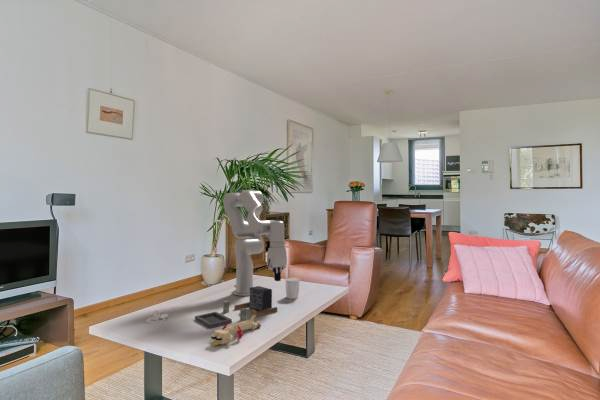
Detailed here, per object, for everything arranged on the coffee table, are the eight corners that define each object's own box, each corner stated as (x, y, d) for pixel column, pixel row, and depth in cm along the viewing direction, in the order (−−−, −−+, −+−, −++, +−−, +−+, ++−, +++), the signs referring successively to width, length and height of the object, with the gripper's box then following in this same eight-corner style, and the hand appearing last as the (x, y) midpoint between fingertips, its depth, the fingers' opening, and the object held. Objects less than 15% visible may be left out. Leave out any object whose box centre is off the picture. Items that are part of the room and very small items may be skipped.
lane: (223, 311, 170) (223, 301, 170) (257, 303, 184) (257, 294, 184) (242, 321, 157) (242, 309, 157) (277, 311, 171) (277, 301, 171)
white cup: (283, 296, 198) (283, 278, 198) (296, 294, 202) (296, 277, 201) (288, 299, 191) (288, 281, 191) (301, 298, 194) (301, 280, 194)
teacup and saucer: (168, 316, 164) (168, 308, 164) (166, 322, 156) (166, 313, 156) (148, 318, 162) (148, 309, 162) (144, 324, 154) (145, 314, 154)
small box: (272, 310, 173) (272, 288, 173) (262, 313, 168) (262, 291, 168) (258, 305, 180) (258, 285, 180) (248, 308, 176) (248, 287, 176)
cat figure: (246, 327, 153) (203, 342, 132) (247, 307, 154) (204, 319, 132) (264, 332, 148) (223, 348, 127) (265, 310, 149) (224, 324, 127)
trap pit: (194, 319, 159) (194, 316, 159) (215, 314, 166) (215, 311, 166) (210, 328, 148) (210, 324, 148) (231, 322, 155) (231, 319, 155)
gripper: (283, 243, 189) (284, 277, 188) (261, 245, 179) (261, 281, 178) (292, 244, 183) (293, 279, 183) (269, 246, 173) (270, 284, 173)
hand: (277, 280), depth 181 cm, fingers closed
